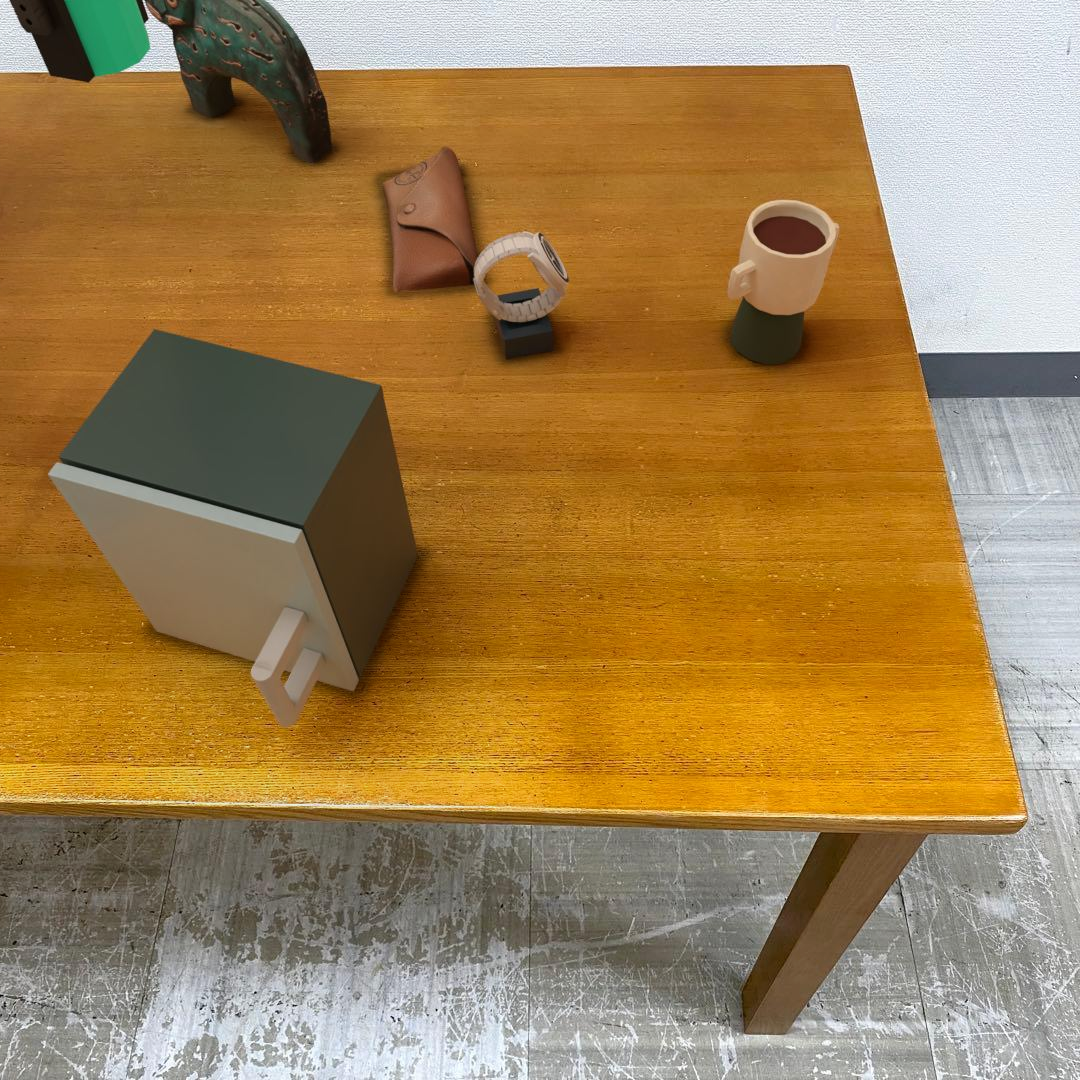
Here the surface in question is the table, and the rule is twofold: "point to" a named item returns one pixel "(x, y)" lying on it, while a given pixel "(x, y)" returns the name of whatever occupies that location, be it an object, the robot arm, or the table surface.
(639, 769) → the table surface
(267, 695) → the cabinet door
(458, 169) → the sunglasses case
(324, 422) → the cabinet
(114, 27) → the candle
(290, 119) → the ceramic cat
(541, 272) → the watch
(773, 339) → the character mug
